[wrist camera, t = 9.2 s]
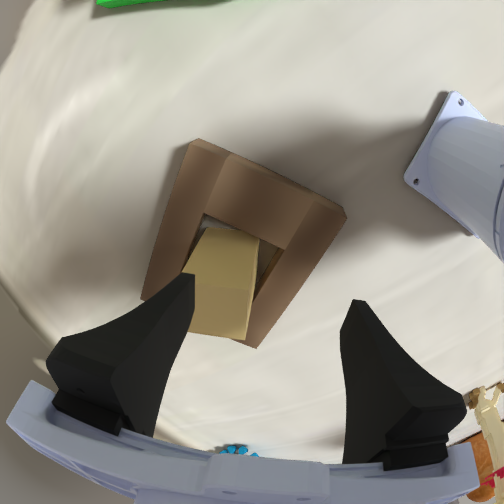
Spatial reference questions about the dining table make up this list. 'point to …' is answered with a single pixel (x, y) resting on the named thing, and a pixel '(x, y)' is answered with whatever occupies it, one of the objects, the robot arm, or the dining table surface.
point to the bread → (481, 468)
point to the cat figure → (491, 435)
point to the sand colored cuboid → (223, 282)
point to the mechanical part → (121, 2)
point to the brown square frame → (245, 226)
